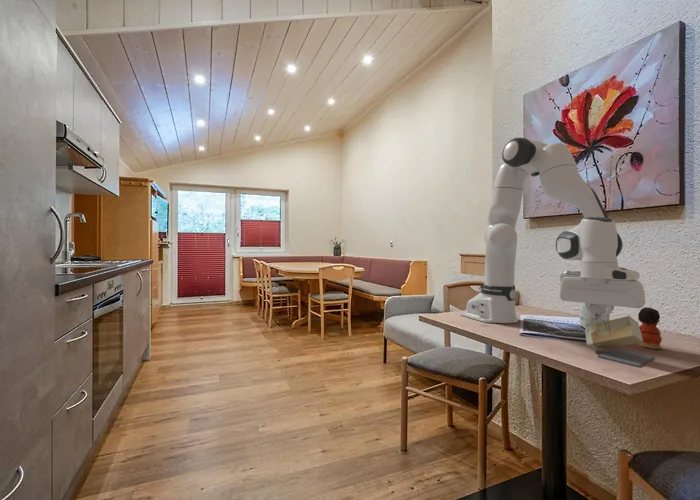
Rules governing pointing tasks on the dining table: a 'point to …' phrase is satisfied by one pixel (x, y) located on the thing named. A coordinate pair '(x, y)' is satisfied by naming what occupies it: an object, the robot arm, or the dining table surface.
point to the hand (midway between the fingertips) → (599, 319)
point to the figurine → (650, 328)
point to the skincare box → (613, 333)
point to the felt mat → (626, 357)
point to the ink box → (585, 314)
